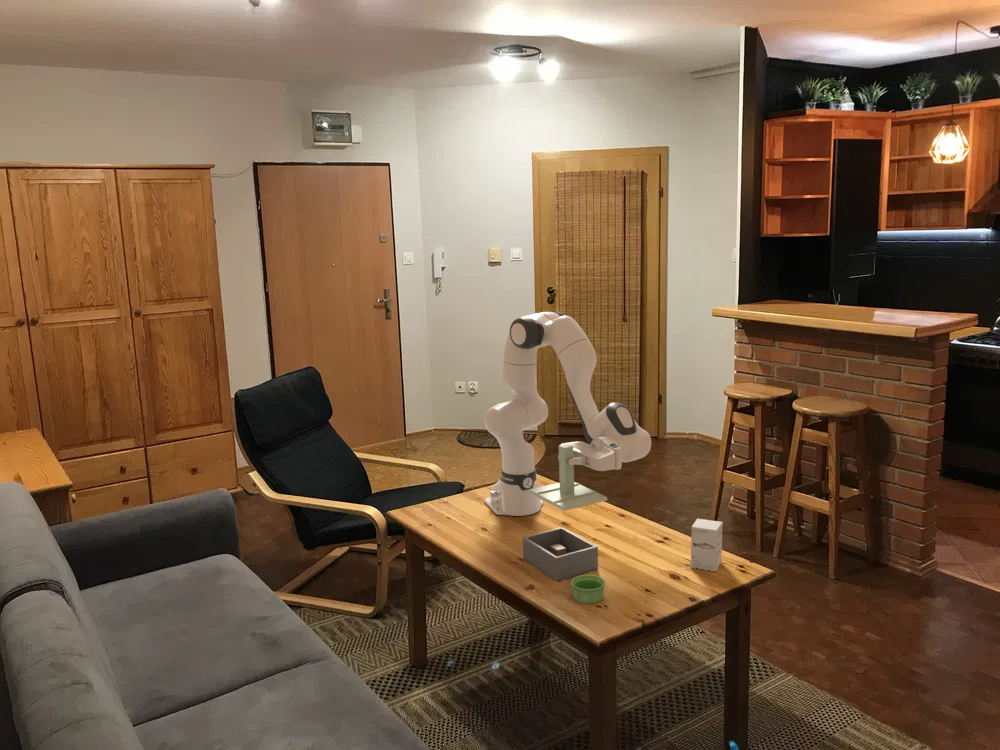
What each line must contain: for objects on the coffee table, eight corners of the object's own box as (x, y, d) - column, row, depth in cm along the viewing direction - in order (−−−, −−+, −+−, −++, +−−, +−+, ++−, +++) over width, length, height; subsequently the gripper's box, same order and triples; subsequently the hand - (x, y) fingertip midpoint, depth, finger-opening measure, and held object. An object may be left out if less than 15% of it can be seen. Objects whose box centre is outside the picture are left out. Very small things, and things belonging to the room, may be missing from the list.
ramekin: (592, 586, 216) (592, 571, 215) (612, 599, 208) (612, 584, 208) (564, 594, 212) (564, 579, 211) (583, 608, 204) (583, 592, 203)
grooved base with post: (528, 492, 233) (527, 443, 230) (570, 483, 240) (569, 435, 237) (563, 510, 217) (562, 458, 214) (607, 500, 224) (606, 449, 221)
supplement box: (690, 568, 225) (690, 526, 222) (696, 558, 231) (697, 517, 229) (716, 573, 221) (717, 530, 219) (722, 562, 228) (723, 521, 225)
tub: (523, 559, 235) (522, 537, 234) (562, 548, 242) (562, 527, 240) (556, 582, 220) (556, 558, 218) (598, 569, 226) (597, 546, 225)
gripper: (582, 434, 241) (544, 441, 234) (624, 449, 223) (583, 457, 217) (583, 454, 242) (544, 462, 236) (624, 470, 224) (584, 479, 218)
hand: (563, 460), depth 226 cm, fingers closed on grooved base with post, 3 cm apart
